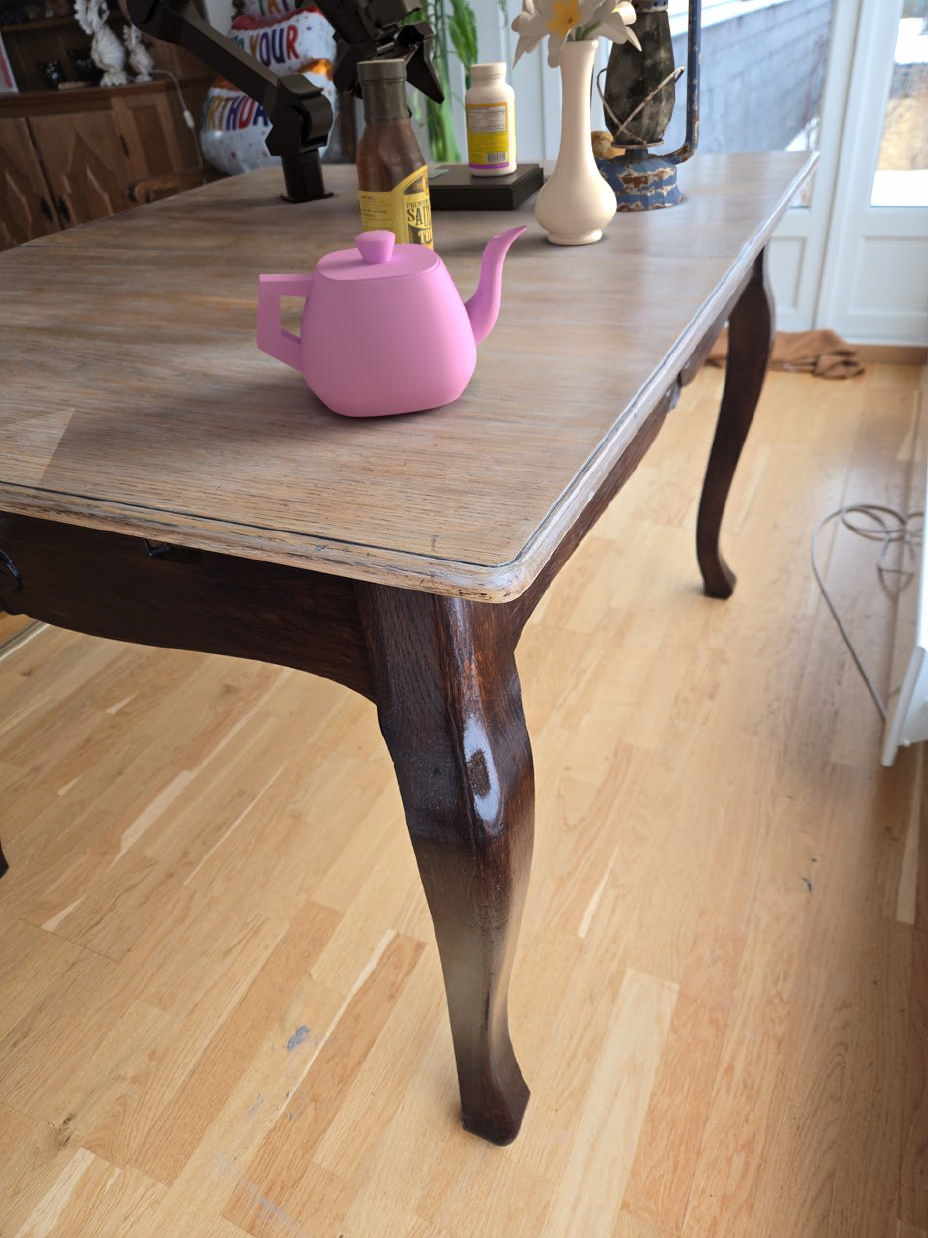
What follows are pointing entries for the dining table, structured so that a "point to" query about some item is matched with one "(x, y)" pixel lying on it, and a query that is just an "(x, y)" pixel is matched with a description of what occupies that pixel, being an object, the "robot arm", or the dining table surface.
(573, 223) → the flower vase
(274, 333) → the teapot
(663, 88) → the lantern
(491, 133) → the supplement bottle
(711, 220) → the dining table surface
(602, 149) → the bread roll
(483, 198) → the kitchen scale
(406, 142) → the sauce bottle
